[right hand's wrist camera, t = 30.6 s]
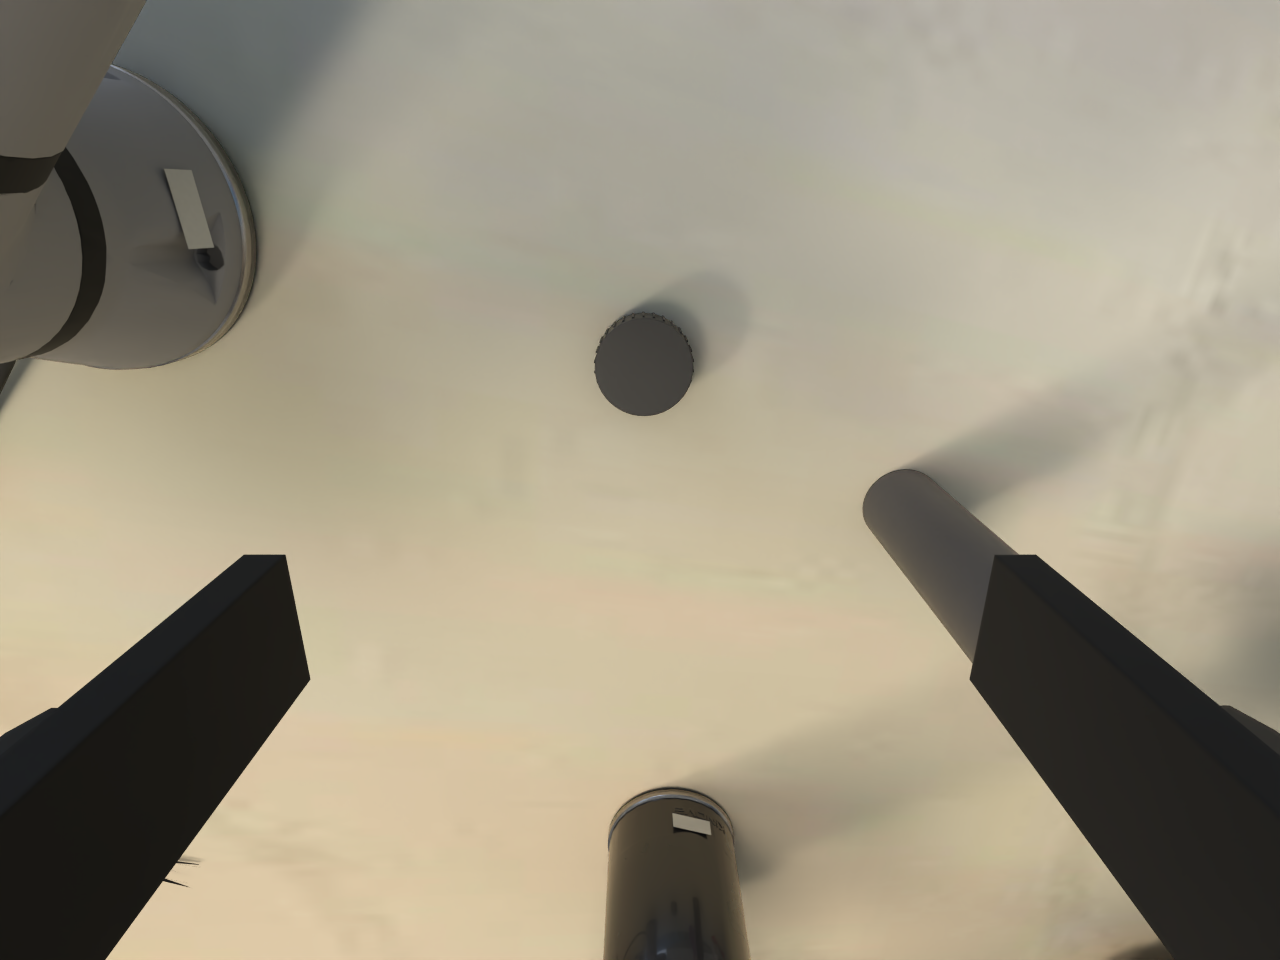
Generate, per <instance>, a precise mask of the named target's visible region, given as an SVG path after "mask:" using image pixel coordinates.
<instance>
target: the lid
mask: <svg viewBox="0 0 1280 960" xmlns="http://www.w3.org/2000/svg"><path fill="white" fill-rule="evenodd" d="M687 342H688V340H687V338H686V336H684V335H683V334H682V332H681V329H680V328H677V327H676V326H675V325H674V323H673V321H671V322H670V321H669V320H667V319H665V318H664V316H662V317H661V316H658V315H655V313H652V314H650V313H644V312H642V313H638V314H634V313H632V315H629V316H627V317H625V316H623V318H622V319H620V320H619V321H617V322H616V321H615V322H614V324H613V325H612V326H611V327H610V328H608V329H607V330H606V333H605V335H604V337H601V340H600V346H598V347H597V350H596V353H597V355H596V357H595V360H594V363H595V371H594V372H595V374H596V379H597V383H598V385H599V388H600V390H601V392H602V393H603V395H604V396H605V397H606V399H607V400H608V401H609V402H610V403H611V404H613V405H614V406H615V407H616V408H618V409H620V410H622V411H624V412H626V413H629V414H632V415H638V416H651V415H656V414H659V413H662V412H664V411H666V410H668V409H670V408H671V407H673V406H674V405H675V404H677V403H678V402H679V401H680V400H681V398H682V397H683V396H684V395H685V393H686V392H687V390H688V388H689V385H690V383H691V381H692V380H691V379H692V375H693V372H694V370H693V362H694V359H693V357H692V354H691V352H692V350H691V347H690V345H688V344H687Z"/></svg>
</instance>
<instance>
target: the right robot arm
mask: <svg viewBox="0 0 1280 960" xmlns="http://www.w3.org/2000/svg"><path fill="white" fill-rule="evenodd" d="M146 1H147V0H0V394H1V391H2V389H3V387H4V385H5V383H6V381H7V379H8V377H9V375H10V372H11V370H12V368H13V366H14V364H15V362H16V360H18V359H23V358H28V357H29V358H36V359H43V360H49V361H56V362H64V363H71V364H80V365H85V366H90V367H95V368H102V369H116V370H123V369H140V368H151V367H156V366H161V365H165V364H168V363H172V362H175V361H179V360H182V359H185V358H188V357H191V356H193V355H195V354H197V353H200V352H201V351H203V350H205V349H206V348H208V347H210V346H211V345H212V344H214V343H215V342H216V341H218V340H219V339H220V338H221V337H222V336H223V335H224V334H225V333H226V332H227V331H228V330H229V329H230V328H231V326H232V325H233V324H234V323H235V321H236V320H237V318H238V316H239V315H240V313H241V312H242V310H243V308H244V306H245V303H246V301H247V299H248V296H249V293H250V290H251V287H252V283H253V278H254V274H255V265H256V237H255V228H254V223H253V217H252V213H251V209H250V205H249V202H248V199H247V196H246V193H245V190H244V188H243V185H242V183H241V181H240V178H239V176H238V174H237V172H236V170H235V168H234V166H233V165H232V163H231V161H230V159H229V157H228V156H227V154H226V153H225V151H224V150H223V148H222V147H221V145H220V144H219V142H218V141H217V140H216V138H215V137H214V136H213V134H212V133H211V132H210V131H209V129H208V128H207V127H206V126H205V125H204V124H203V123H202V122H201V120H200V119H199V118H198V117H197V116H196V115H195V114H194V113H193V112H192V111H191V110H190V109H188V108H187V107H186V106H185V105H184V104H183V103H182V102H180V101H179V100H178V99H177V98H175V97H174V96H173V95H172V94H170V93H169V92H168V91H166V90H164V89H163V88H161V87H160V86H158V85H157V84H155V83H154V82H152V81H150V80H148V79H146V78H145V77H143V76H141V75H139V74H137V73H134V72H132V71H130V70H127V69H125V68H122V67H119V66H116V65H113V64H112V62H113V60H114V58H115V57H116V55H117V53H118V51H119V49H120V47H121V46H122V44H123V42H124V40H125V38H126V37H127V35H128V33H129V31H130V29H131V28H132V26H133V24H134V22H135V20H136V19H137V17H138V15H139V13H140V11H141V10H142V8H143V6H144V4H145V2H146ZM309 681H310V675H309V670H308V665H307V660H306V655H305V650H304V645H303V640H302V635H301V630H300V625H299V620H298V615H297V610H296V605H295V600H294V595H293V590H292V585H291V580H290V575H289V570H288V565H287V560H286V555H243V556H242V557H241V558H239V559H238V560H237V561H236V562H235V563H233V564H232V565H231V566H230V567H229V568H227V569H226V570H225V571H224V572H222V573H221V574H220V575H219V576H218V577H216V578H215V579H214V580H213V581H211V582H210V583H209V584H208V585H207V586H205V587H204V588H203V589H202V590H201V591H199V592H198V593H197V594H196V595H194V596H193V597H192V598H191V599H190V600H188V601H187V602H186V603H185V604H184V605H182V606H181V607H180V608H179V609H177V610H176V611H175V612H174V613H173V614H171V615H170V616H169V617H168V618H167V619H165V620H164V621H163V622H162V623H160V624H159V625H158V626H157V627H156V628H154V629H153V630H152V631H151V632H150V633H148V634H147V635H146V636H145V637H143V638H142V639H141V640H140V641H139V642H137V643H136V644H135V645H134V646H132V647H131V648H130V649H129V650H128V651H126V652H125V653H124V654H123V655H122V656H120V657H119V658H118V659H117V660H115V661H114V662H113V663H112V664H111V665H109V666H108V667H107V668H106V669H105V670H103V671H102V672H101V673H100V674H98V675H97V676H96V677H95V678H94V679H92V680H91V681H90V682H89V683H88V684H86V685H85V686H84V687H83V688H81V689H80V690H79V691H78V692H77V693H75V694H74V695H73V696H72V697H70V698H69V699H68V700H67V701H66V702H64V703H63V704H62V705H61V706H60V707H58V708H50V709H49V710H47V711H45V712H43V713H41V714H39V715H38V716H36V717H34V718H32V719H30V720H28V721H27V722H25V723H23V724H21V725H19V726H17V727H16V728H14V729H12V730H10V731H8V732H6V733H5V734H3V735H2V736H1V737H0V960H105V959H106V958H107V957H108V955H109V954H110V953H111V951H112V950H113V948H114V947H115V946H116V944H117V943H118V942H119V940H120V939H121V938H122V936H123V935H124V933H125V932H126V931H127V929H128V928H129V927H130V925H131V924H132V922H133V921H134V920H135V918H136V917H137V916H138V914H139V913H140V912H141V910H142V909H143V907H144V906H145V905H146V903H147V902H148V901H149V899H150V898H151V897H152V895H153V894H154V892H155V891H156V890H157V888H158V887H159V886H160V884H161V883H162V881H163V880H164V879H165V877H166V876H167V875H168V873H169V872H170V871H171V869H172V868H173V866H174V865H175V864H176V862H177V861H178V860H179V858H180V857H181V856H182V854H183V853H184V851H185V850H186V849H187V847H188V846H189V845H190V843H191V842H192V840H193V839H194V838H195V836H196V835H197V834H198V832H199V831H200V830H201V828H202V827H203V825H204V824H205V823H206V821H207V820H208V819H209V817H210V816H211V815H212V813H213V812H214V810H215V809H216V808H217V806H218V805H219V804H220V802H221V801H222V799H223V798H224V797H225V795H226V794H227V793H228V791H229V790H230V789H231V787H232V786H233V784H234V783H235V782H236V780H237V779H238V778H239V776H240V775H241V774H242V772H243V771H244V769H245V768H246V767H247V765H248V764H249V763H250V761H251V760H252V758H253V757H254V756H255V754H256V753H257V752H258V750H259V749H260V748H261V746H262V745H263V743H264V742H265V741H266V739H267V738H268V737H269V735H270V734H271V733H272V731H273V730H274V728H275V727H276V726H277V724H278V723H279V722H280V720H281V719H282V717H283V716H284V715H285V713H286V712H287V711H288V709H289V708H290V707H291V705H292V704H293V702H294V701H295V700H296V698H297V697H298V696H299V694H300V693H301V692H302V690H303V689H304V687H305V686H306V685H307V683H308V682H309ZM970 681H971V682H972V683H973V685H974V686H975V687H976V689H977V690H978V692H979V693H980V694H981V696H982V697H983V698H984V700H985V701H986V702H987V704H988V705H989V707H990V708H991V709H992V711H993V712H994V713H995V715H996V716H997V717H998V719H999V720H1000V722H1001V723H1002V724H1003V726H1004V727H1005V728H1006V730H1007V731H1008V733H1009V734H1010V735H1011V737H1012V738H1013V739H1014V741H1015V742H1016V743H1017V745H1018V746H1019V748H1020V749H1021V750H1022V752H1023V753H1024V754H1025V756H1026V757H1027V758H1028V760H1029V761H1030V763H1031V764H1032V765H1033V767H1034V768H1035V769H1036V771H1037V772H1038V774H1039V775H1040V776H1041V778H1042V779H1043V780H1044V782H1045V783H1046V784H1047V786H1048V787H1049V789H1050V790H1051V791H1052V793H1053V794H1054V795H1055V797H1056V798H1057V799H1058V801H1059V802H1060V804H1061V805H1062V806H1063V808H1064V809H1065V810H1066V812H1067V813H1068V815H1069V816H1070V817H1071V819H1072V820H1073V821H1074V823H1075V824H1076V825H1077V827H1078V828H1079V830H1080V831H1081V832H1082V834H1083V835H1084V836H1085V838H1086V839H1087V840H1088V842H1089V843H1090V845H1091V846H1092V847H1093V849H1094V850H1095V851H1096V853H1097V854H1098V856H1099V857H1100V858H1101V860H1102V861H1103V862H1104V864H1105V865H1106V866H1107V868H1108V869H1109V871H1110V872H1111V873H1112V875H1113V876H1114V877H1115V879H1116V880H1117V881H1118V883H1119V884H1120V886H1121V887H1122V888H1123V890H1124V891H1125V892H1126V894H1127V895H1128V897H1129V898H1130V899H1131V901H1132V902H1133V903H1134V905H1135V906H1136V907H1137V909H1138V910H1139V912H1140V913H1141V914H1142V916H1143V917H1144V918H1145V920H1146V921H1147V922H1148V924H1149V925H1150V927H1151V928H1152V929H1153V931H1154V932H1155V933H1156V935H1157V936H1158V938H1159V939H1160V940H1161V942H1162V943H1163V944H1164V946H1165V947H1166V948H1167V950H1168V951H1169V953H1170V954H1171V955H1172V957H1173V958H1174V959H1175V960H1280V734H1279V733H1278V732H1277V731H1275V730H1274V729H1272V728H1270V727H1268V726H1266V725H1264V724H1263V723H1261V722H1259V721H1257V720H1255V719H1253V718H1251V717H1250V716H1248V715H1246V714H1244V713H1242V712H1240V711H1239V710H1237V709H1235V708H1233V707H1231V706H1219V705H1218V704H1217V703H1216V702H1214V701H1213V700H1212V699H1211V698H1209V697H1208V696H1207V695H1206V694H1205V693H1203V692H1202V691H1201V690H1200V689H1199V688H1197V687H1196V686H1195V685H1194V684H1192V683H1191V682H1190V681H1189V680H1188V679H1186V678H1185V677H1184V676H1183V675H1182V674H1180V673H1179V672H1178V671H1177V670H1175V669H1174V668H1173V667H1172V666H1171V665H1169V664H1168V663H1167V662H1166V661H1165V660H1163V659H1162V658H1161V657H1160V656H1158V655H1157V654H1156V653H1155V652H1154V651H1152V650H1151V649H1150V648H1149V647H1148V646H1146V645H1145V644H1144V643H1143V642H1141V641H1140V640H1139V639H1138V638H1137V637H1135V636H1134V635H1133V634H1132V633H1130V632H1129V631H1128V630H1127V629H1126V628H1124V627H1123V626H1122V625H1121V624H1120V623H1118V622H1117V621H1116V620H1115V619H1113V618H1112V617H1111V616H1110V615H1109V614H1107V613H1106V612H1105V611H1104V610H1103V609H1101V608H1100V607H1099V606H1098V605H1096V604H1095V603H1094V602H1093V601H1092V600H1090V599H1089V598H1088V597H1087V596H1086V595H1084V594H1083V593H1082V592H1081V591H1079V590H1078V589H1077V588H1076V587H1075V586H1073V585H1072V584H1071V583H1070V582H1069V581H1067V580H1066V579H1065V578H1064V577H1062V576H1061V575H1060V574H1059V573H1058V572H1056V571H1055V570H1054V569H1053V568H1051V567H1050V566H1049V565H1048V564H1047V563H1045V562H1044V561H1043V560H1042V559H1041V558H1039V557H1038V556H1037V555H994V560H993V565H992V570H991V575H990V580H989V585H988V590H987V595H986V600H985V605H984V610H983V615H982V620H981V625H980V630H979V635H978V640H977V645H976V650H975V655H974V660H973V665H972V670H971V675H970Z"/></svg>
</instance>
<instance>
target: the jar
mask: <svg viewBox="0 0 1280 960" xmlns="http://www.w3.org/2000/svg"><path fill="white" fill-rule="evenodd" d="M863 516H864V520H865V522H866V524H867V526H868V527H869V529H870V530H871V531H872V533H873V534H874V535H875V537H876V538H877V539H878V540H879V542H880V543H881V544H882V546H883V547H884V548H885V550H886V551H887V552H888V554H889V555H890V556H891V557H892V559H893V560H894V561H895V563H896V564H897V565H898V567H899V568H900V569H901V571H902V572H903V573H904V574H905V576H906V577H907V578H908V580H909V581H910V582H911V584H912V585H913V586H914V588H915V589H916V590H917V591H918V593H919V594H920V595H921V597H922V598H923V599H924V601H925V602H926V603H927V604H928V606H929V607H930V608H931V610H932V611H933V612H934V614H935V615H936V616H937V618H938V619H939V620H940V621H941V623H942V624H943V625H944V627H945V628H946V629H947V631H948V632H949V633H950V635H951V636H952V637H953V638H954V640H955V641H956V642H957V644H958V645H959V646H960V648H961V649H962V650H963V652H964V653H965V654H966V655H967V657H968V658H969V659H970V661H971V662H972V663H973V660H974V655H975V650H976V645H977V640H978V635H979V630H980V625H981V620H982V615H983V610H984V605H985V600H986V595H987V590H988V585H989V580H990V575H991V570H992V565H993V560H994V555H1019V554H1018V553H1017V552H1015V551H1014V550H1013V549H1012V548H1011V547H1010V546H1008V545H1007V544H1006V543H1005V542H1004V541H1003V540H1001V539H1000V538H999V537H998V536H997V535H996V534H994V533H993V532H992V531H991V530H990V529H989V528H987V527H986V526H985V525H984V524H983V523H982V522H980V521H979V520H978V519H977V518H976V517H975V516H973V515H972V514H971V513H970V512H969V511H968V510H966V509H965V508H964V507H963V506H962V505H961V504H960V503H958V502H957V501H956V500H955V499H954V498H953V497H951V496H950V495H949V494H948V493H947V492H946V491H944V490H943V489H942V488H941V487H940V486H939V485H937V484H936V483H935V482H934V481H933V480H932V479H930V478H929V477H928V476H927V475H925V474H923V473H921V472H918V471H915V470H898V471H894V472H891V473H889V474H887V475H885V476H883V477H881V478H880V479H879V480H877V481H876V482H875V483H874V484H873V485H872V487H871V488H870V489H869V491H868V492H867V494H866V497H865V499H864V503H863Z"/></svg>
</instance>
